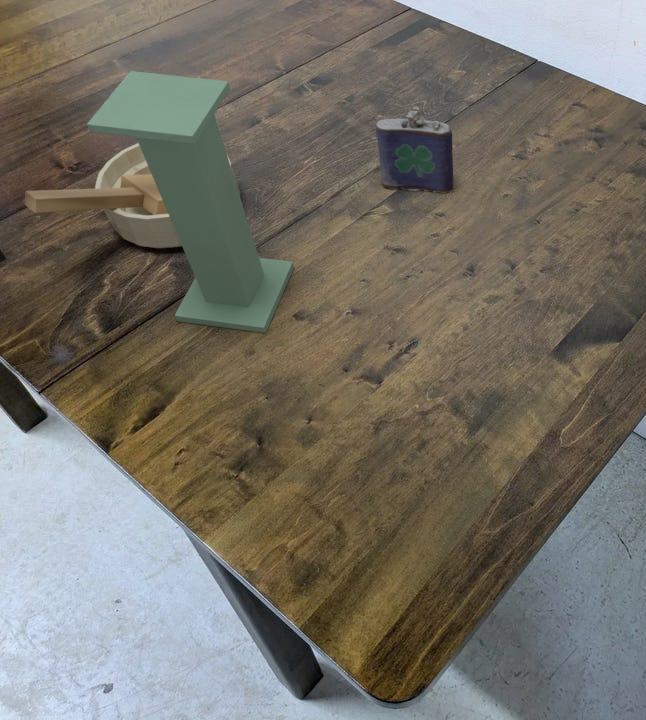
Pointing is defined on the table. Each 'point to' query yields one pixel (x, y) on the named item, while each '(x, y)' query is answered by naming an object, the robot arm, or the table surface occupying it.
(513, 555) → the table surface
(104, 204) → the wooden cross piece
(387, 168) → the flask
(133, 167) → the bowl
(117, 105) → the pedestal stand
